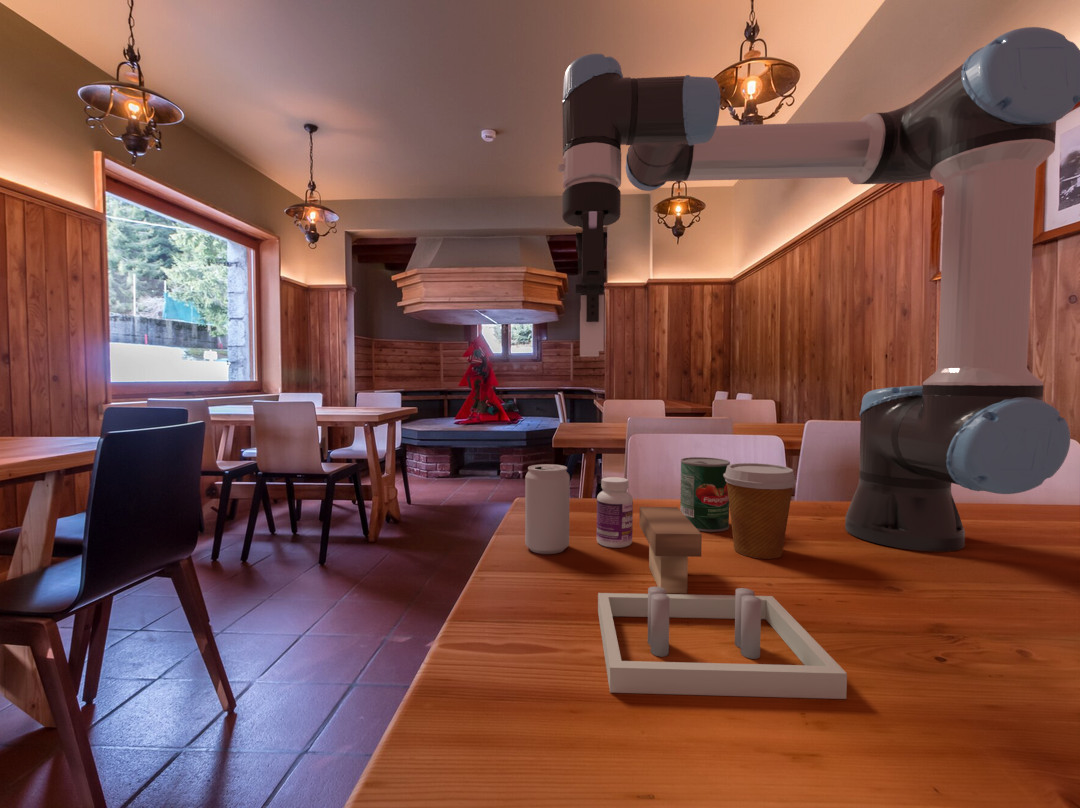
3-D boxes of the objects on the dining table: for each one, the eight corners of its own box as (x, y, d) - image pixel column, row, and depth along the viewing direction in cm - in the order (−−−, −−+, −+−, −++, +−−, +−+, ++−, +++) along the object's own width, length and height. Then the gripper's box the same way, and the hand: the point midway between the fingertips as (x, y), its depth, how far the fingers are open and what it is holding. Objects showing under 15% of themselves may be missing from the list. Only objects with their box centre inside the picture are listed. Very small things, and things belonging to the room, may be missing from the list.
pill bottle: (630, 550, 73) (630, 483, 73) (593, 546, 75) (593, 481, 74) (634, 539, 78) (634, 476, 78) (600, 536, 80) (600, 475, 79)
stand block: (672, 567, 66) (672, 529, 66) (687, 593, 58) (687, 550, 58) (649, 567, 66) (649, 529, 66) (660, 593, 58) (661, 550, 58)
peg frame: (771, 614, 53) (772, 567, 53) (846, 699, 39) (848, 635, 39) (598, 611, 54) (598, 564, 54) (609, 692, 40) (610, 629, 40)
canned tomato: (693, 516, 91) (694, 455, 91) (737, 525, 86) (738, 460, 85) (671, 525, 86) (671, 460, 85) (715, 535, 80) (717, 466, 80)
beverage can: (524, 542, 77) (523, 463, 76) (566, 541, 78) (566, 462, 77) (526, 556, 71) (526, 470, 70) (572, 555, 71) (572, 470, 71)
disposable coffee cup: (804, 565, 67) (806, 475, 66) (727, 560, 69) (729, 472, 68) (784, 543, 76) (786, 463, 76) (717, 539, 78) (719, 461, 78)
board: (639, 525, 68) (639, 506, 68) (677, 525, 68) (677, 507, 68) (655, 556, 56) (655, 533, 56) (701, 556, 56) (701, 534, 56)
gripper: (564, 220, 79) (564, 358, 80) (559, 146, 54) (558, 348, 55) (613, 219, 78) (612, 358, 79) (630, 144, 53) (628, 347, 54)
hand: (590, 354), depth 67 cm, fingers open, 13 cm apart
